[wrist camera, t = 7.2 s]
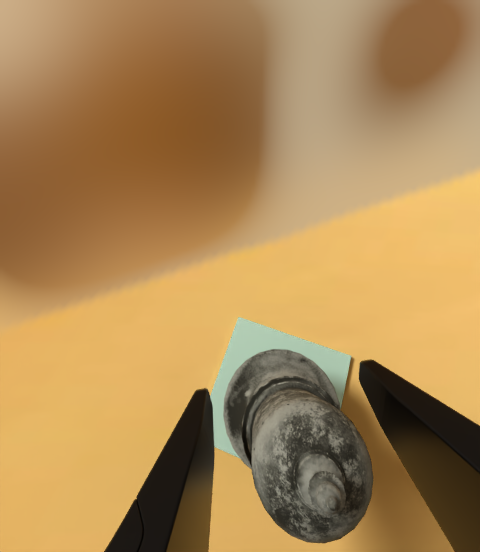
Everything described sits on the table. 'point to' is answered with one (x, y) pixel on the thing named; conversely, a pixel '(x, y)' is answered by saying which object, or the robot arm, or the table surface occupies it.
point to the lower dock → (261, 338)
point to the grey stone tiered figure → (298, 445)
